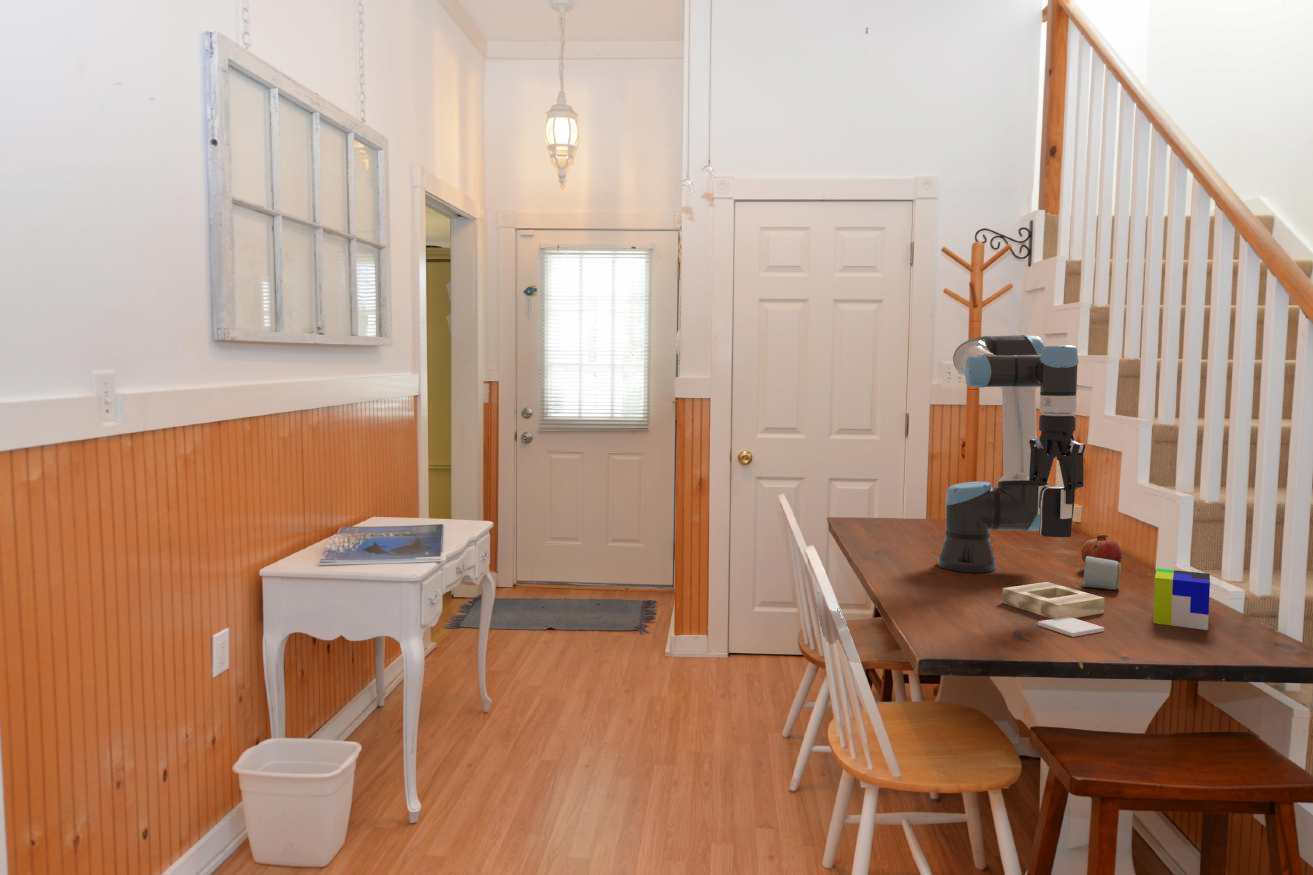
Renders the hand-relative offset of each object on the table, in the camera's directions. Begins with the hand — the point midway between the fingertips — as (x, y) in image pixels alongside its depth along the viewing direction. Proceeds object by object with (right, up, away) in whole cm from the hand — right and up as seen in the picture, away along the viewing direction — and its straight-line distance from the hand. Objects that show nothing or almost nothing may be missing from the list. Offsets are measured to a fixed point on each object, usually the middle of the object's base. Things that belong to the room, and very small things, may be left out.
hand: (1054, 515), depth 199 cm
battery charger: (0, -5, +1) cm, 5 cm away
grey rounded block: (+21, -20, +20) cm, 35 cm away
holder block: (0, -21, +2) cm, 21 cm away
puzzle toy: (+23, -22, -9) cm, 33 cm away
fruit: (+29, -18, +36) cm, 50 cm away
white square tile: (-3, -23, -14) cm, 27 cm away
